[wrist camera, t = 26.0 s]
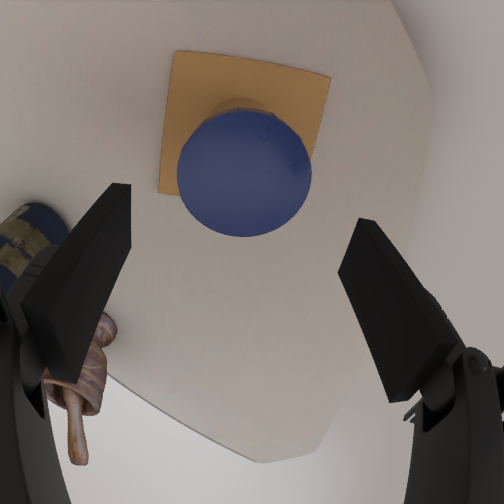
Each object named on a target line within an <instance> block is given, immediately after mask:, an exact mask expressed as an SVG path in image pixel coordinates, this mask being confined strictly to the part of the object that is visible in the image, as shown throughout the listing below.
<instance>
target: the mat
mask: <svg viewBox="0 0 504 504" xmlns="http://www.w3.org/2000/svg"><path fill="white" fill-rule="evenodd" d="M330 81H331V78H330V77H327V76H323V75H319V74H316V73H312V72H308V71H304V70H300V69H296V68H291V67H287V66H282V65H277V64H273V63H268V62H262V61H257V60H251V59H245V58H239V57H232V56H225V55H217V54H208V53H199V52H188V51H175V53H174V59H173V65H172V71H171V78H170V85H169V92H168V99H167V107H166V115H165V123H164V132H163V142H162V152H161V164H160V177H159V192H158V193H163V194H171V195H179V196H180V193H179V189H178V185H177V165H178V160H179V157H180V154H181V149H182V147H183V146H184V144H186V142H187V141H188V139H189V137H190V136H191V135H192V133H193V132H194V130H195V129H196V128H197V127H198V126H199V125H200V124H201V123H202V122H203V121H204V119H205V118H206V119H207V117H208V115H209V114H210V113H211V111H212V110H213V109H214V108H215V107H217V106H218V105H219V104H221V103H223V102H225V101H227V100H230V99H235V98H248V99H252V100H255V101H257V102H259V103H261V104H263V105H264V106H265V107H267V108H268V109H269V110H270V112H273V113H274V114H275V116H277V117H279V118H280V119H282V120H283V121H284V122H286V123H287V124H288V125H289V126H290V127H291V128H292V130H293V131H294V132H295V133H296V134H298V135H299V136H300V137H301V139H302V140H301V141H302V142H303V144H304V146H305V148H306V150H307V152H308V155H309V158H310V160H311V156H312V152H313V149H314V145H315V141H316V137H317V133H318V129H319V125H320V121H321V117H322V113H323V109H324V105H325V101H326V97H327V93H328V89H329V85H330Z"/></svg>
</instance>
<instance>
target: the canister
mask: <svg viewBox="0 0 504 504" xmlns="http://www.w3.org/2000/svg"><path fill="white" fill-rule="evenodd" d="M68 235H69V232H68V230H67V228H66V226H65V224H64V222H63V221H62V220H61V218H60V217H59V216H58V215H57V214H56V213H55V212H54V211H52V210H51V209H50V208H48V207H46V206H44V205H41V204H38V203H28V204H25V205H23V206H21V207H19V208H18V209H17V210H15V211H14V212H13V213H12V214H11V215H10V216H9V217H8V218H7V219H5V220H4V221H3V222H2V223H1V224H0V286H1V287H2V290H3V293H4V295H5V296H6V294H7V293H8V291H9V290H10V288H11V287H12V286H13V284H14V283H15V281H16V280H17V279H18V277H19V276H20V275H22V272H23V270H24V269H25V268H26V266H29V262H30V261H31V260H32V259H33V257H34V256H35V255H36V253H37V252H39V251H40V250H42V249H43V248H45V247H46V246H48V245H49V244H52V245H59V246H60V245H61V244H62V242H63V241H64V240H65V239H66V237H67V236H68Z"/></svg>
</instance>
